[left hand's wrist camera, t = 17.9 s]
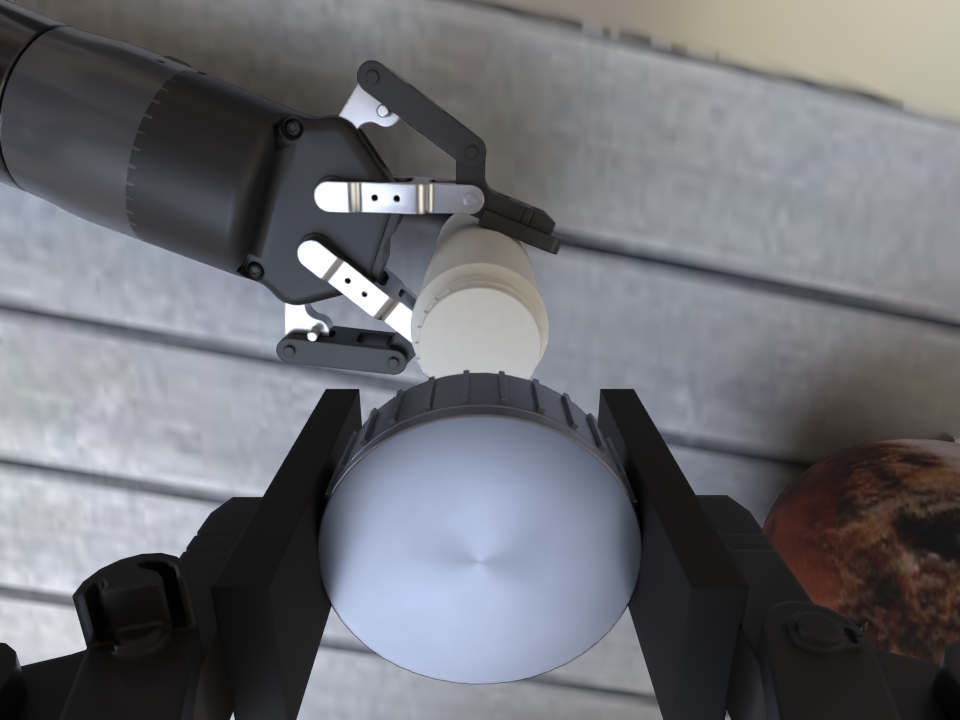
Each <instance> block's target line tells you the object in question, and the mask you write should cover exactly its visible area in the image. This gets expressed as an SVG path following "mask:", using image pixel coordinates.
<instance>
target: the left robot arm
mask: <svg viewBox="0 0 960 720" xmlns="http://www.w3.org/2000/svg"><path fill="white" fill-rule="evenodd" d="M361 428H362V421H361V407H360V394H359V389H326V390H325V392H324V393H323V395H322V397H321V399H320V400H319V402H318V404H317V405H316V407H315V409H314V411H313V412H312V414H311V416H310V417H309V419H308V421H307V423H306V424H305V426H304V428H303V429H302V431H301V433H300V434H299V436H298V438H297V440H296V441H295V443H294V445H293V446H292V448H291V450H290V452H289V453H288V455H287V457H286V458H285V460H284V462H283V464H282V465H281V467H280V469H279V470H278V472H277V474H276V475H275V477H274V479H273V481H272V482H271V484H270V486H269V487H268V489H267V491H266V493H265V494H264V496H263V497H232V498H231V499H230V500H228V501H227V502H226V503H224V504H223V505H221V506H220V507H219V508H217V509H216V510H214V511H213V512H212V513H210V515H209V516H208V518H207V519H206V521H205V522H204V523H203V525H202V526H201V528H200V529H199V531H198V532H197V536H194V538H193V539H192V541H191V542H190V544H189V545H188V546H187V550H186V552H183V554H182V555H181V556H180V558H178V557H176V556H172V555H168V554H164V553H151V554H140V555H136V556H132V557H129V558H125V559H121V560H119V561H117V562H114V563H112V564H110V565H108V566H106V567H104V568H102V569H100V570H98V571H97V572H96V573H94V574H93V575H92V576H90V577H89V578H88V579H86V580H85V581H84V582H83V583H82V584H81V585H80V587H79V588H78V589H77V591H76V592H75V593H74V595H73V600H74V603H75V607H76V610H77V614H78V617H79V621H80V625H81V628H82V632H83V635H84V639H85V642H86V646H87V649H86V650H84V651H81V652H77V653H74V654H71V655H67V656H63V657H58V658H54V659H50V660H46V661H41V662H37V663H33V664H29V665H25V666H20V663H19V660H18V657H17V654H16V651H14V650H13V649H12V648H11V647H10V646H8V645H7V644H6V643H0V720H230V718H231V716H232V713H233V712H234V718H235V720H296V719H297V716H298V712H299V709H300V706H301V703H302V699H303V696H304V693H305V690H306V686H307V683H308V680H309V677H310V674H311V670H312V667H313V664H314V661H315V657H316V654H317V651H318V648H319V644H320V641H321V638H322V635H323V632H324V628H325V625H326V622H327V619H328V615H329V612H330V609H331V606H332V605H331V603H330V601H329V599H328V597H327V595H326V593H325V590H324V587H323V584H322V580H321V577H320V569H319V560H318V551H317V535H318V529H319V524H320V519H321V516H322V513H323V510H324V507H325V505H326V502H327V499H324V498H323V497H324V494H325V492H326V489H327V487H328V485H329V482H330V480H331V478H332V475H333V473H334V471H335V468H336V466H337V463H338V461H339V459H340V458H342V456H343V454H344V451H345V449H346V446H347V444H348V442H349V439H350V437H351V435H352V433H353V432H354V431H355V432H357V433H358V432H359V430H360V429H361ZM598 428H599V429H600V430H601V432H602V434H603V435H604V437H605V439H607V438H609V437H610V438H611V440H612V442H613V444H614V447H615V449H616V452H617V454H618V456H619V459H620V461H621V463H622V466H623V468H624V471H625V473H626V475H627V478H628V480H629V483H630V485H631V487H632V490H633V492H634V494H635V497H636V499H637V502H638V506H635V508H636V511H637V513H638V517H639V522H640V526H641V530H642V541H643V543H642V557H641V566H640V574H639V579H638V583H637V586H636V589H635V591H634V594H633V596H632V598H631V601H630V603H629V604H628V607H629V610H630V613H631V617H632V620H633V623H634V626H635V629H636V633H637V636H638V639H639V642H640V646H641V649H642V652H643V655H644V659H645V662H646V665H647V668H648V672H649V675H650V678H651V681H652V684H653V688H654V691H655V694H656V697H657V701H658V704H659V707H660V710H661V714H662V717H663V720H725V715H726V710H727V711H728V713H729V716H730V718H731V720H960V640H956V641H954V642H952V643H951V644H950V645H949V646H948V647H946V648H945V650H944V653H943V656H942V659H941V662H940V664H938V663H934V662H930V661H925V660H921V659H917V658H913V657H908V656H904V655H900V654H896V653H891V652H888V651H884V650H881V649H878V648H875V647H873V646H872V644H871V643H870V641H869V640H868V638H867V636H866V635H865V633H864V632H863V631H862V630H861V629H860V628H858V627H857V626H856V625H855V624H854V623H853V622H851V621H850V620H849V619H848V618H846V617H844V616H842V615H841V614H839V613H837V612H835V611H833V610H831V609H829V608H827V607H824V606H820V605H817V604H814V603H813V601H812V600H811V599H810V597H809V596H808V594H807V593H806V591H805V590H804V589H803V587H802V586H801V584H800V583H799V581H798V580H797V579H796V577H795V576H794V574H793V573H792V571H791V570H790V569H789V567H788V566H787V564H786V563H785V561H784V560H783V559H782V557H781V556H780V554H779V553H778V551H777V550H774V548H773V544H772V543H771V541H770V540H769V539H768V537H767V536H766V534H763V532H762V531H763V530H762V529H761V527H760V526H759V524H758V523H757V521H756V520H755V519H754V517H753V516H752V514H751V513H750V511H748V510H747V509H745V508H744V507H743V506H741V505H740V504H738V503H737V502H736V501H734V500H733V499H731V498H730V497H729V496H727V495H695V493H694V492H693V490H692V488H691V486H690V485H689V483H688V481H687V480H686V478H685V476H684V474H683V473H682V471H681V469H680V468H679V466H678V464H677V463H676V461H675V459H674V457H673V456H672V454H671V452H670V451H669V449H668V447H667V445H666V444H665V442H664V440H663V439H662V437H661V435H660V433H659V432H658V430H657V428H656V427H655V425H654V423H653V421H652V420H651V418H650V416H649V415H648V413H647V411H646V410H645V408H644V406H643V404H642V403H641V401H640V399H639V398H638V396H637V394H636V392H635V391H634V389H600V402H599V416H598Z"/></svg>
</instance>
